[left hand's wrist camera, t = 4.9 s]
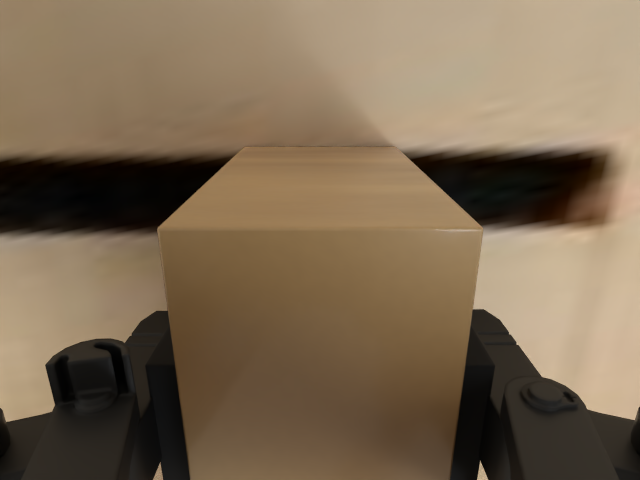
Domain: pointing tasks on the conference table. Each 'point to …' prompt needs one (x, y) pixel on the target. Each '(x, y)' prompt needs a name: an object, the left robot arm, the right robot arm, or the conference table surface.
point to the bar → (320, 316)
